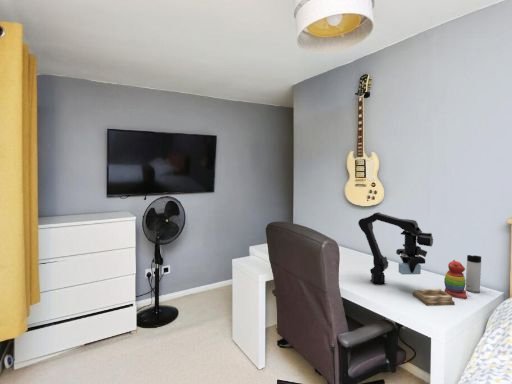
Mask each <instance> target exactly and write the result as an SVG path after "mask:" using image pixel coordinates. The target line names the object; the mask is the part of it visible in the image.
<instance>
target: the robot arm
mask: <svg viewBox="0 0 512 384" xmlns="http://www.w3.org/2000/svg"><path fill="white" fill-rule="evenodd" d="M376 221H380V222H383V223H386V224H390V225H393V226H396V227H399V228H400V229H402V230H403V231H402V232H400V235H403V236H404V243H403V244H402V247H404V248H398V249H396V251H395V252H396V255H398V256H399V258H400V259H401V261H402V263H408V265H409V268H410V271H411V273H413V272H414V269H415V267H416V265H417V264H419V265H422V264H426V259H425V258H426V256H427V255H428V251H427V250H425V249H422V248H421V246H426V247H433V244H434V237H433V234H432V232H423V231H422V229H421V228H420V226H419V224H418V222H417V220H414V219H407V218H406V219H404V218H399V217H395V216H391V215H388V214H385V213H381V212H379V211H378V212H377V211H376V212H374V213H373V214H371V215H369V216H366V217H362V218H361V219H359V220H358V222H357V223H358V226H359V228H360V230H361V231H362V232H363V233H364V235H365V238H366V240H367V243H368V246H369V248H370V251H371V254H372V257H373V267H372V268H370V269H369V271H370V275H371V276H370V278H371V279H370V280H369V281H370V282H371V283H372V284H373V285H386V283H385V281H386V279H385V277H386V275H385V273H384V272H385V271H386V270H387V269H388V267H389V262H390V261H388V258H387V256H384V255H382V252H381V250H380V247H379V244H378V242H377V239H376V237H375V234H374V225H373V224H374V223H375V222H376ZM417 244H418V245H417ZM419 245H420V246H419Z"/></svg>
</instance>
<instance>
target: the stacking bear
mask: <svg viewBox="0 0 512 384" xmlns="http://www.w3.org/2000/svg"><path fill="white" fill-rule="evenodd" d="M447 266H448V270H447V272H446V273H445V276H444V281H443V282H444V287H445V289H444V290H443V291H444V292H446V293H447V294H449V295H450V296H452V298H457V299H463V300H467V299H468V296H467V290H466V276H465V275H464V273H463V272H464V271H466V267H465V266H464V265H463V264H462V263H461V262H460V261H456V260H455V259H453V260H452V261H450V262H448V265H447Z"/></svg>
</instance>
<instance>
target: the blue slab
mask: <svg viewBox="0 0 512 384" xmlns="http://www.w3.org/2000/svg"><path fill="white" fill-rule="evenodd" d="M421 266H422V264H417V265H416V267H415V269H414V272H413V273H411V271H410V268H409V265H408V263H403V262H399V263H398V273H399V274H401V275H402V276H403V275H421V273H422V272H421V268H422V267H421Z"/></svg>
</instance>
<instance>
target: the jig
mask: <svg viewBox="0 0 512 384" xmlns="http://www.w3.org/2000/svg"><path fill="white" fill-rule="evenodd" d="M412 295H413V297H414V298H416V299H418V300H419V301H420V302H421V303H423V305H424V306H427V307H429V306H454V305H455V301H454V300H453V296H450V295H449V294H447V293H446V292H444V290H442V289H441V288H439V289H438V288H436V289H433V288H432V289H415V290H414V292H412Z"/></svg>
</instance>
